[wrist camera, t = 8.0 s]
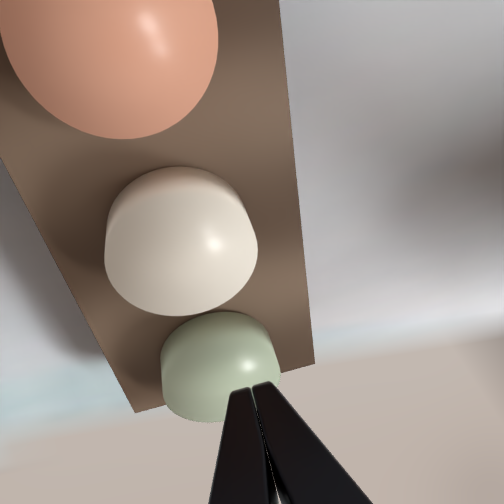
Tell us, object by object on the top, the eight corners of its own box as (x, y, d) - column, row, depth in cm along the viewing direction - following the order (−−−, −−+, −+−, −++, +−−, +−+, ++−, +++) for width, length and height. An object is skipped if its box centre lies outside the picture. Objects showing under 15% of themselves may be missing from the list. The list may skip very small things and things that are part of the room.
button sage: (146, 329, 17) (147, 363, 16) (263, 299, 17) (273, 329, 16) (176, 400, 19) (179, 434, 18) (276, 372, 20) (286, 404, 19)
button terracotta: (-25, -69, 9) (-48, -66, 8) (184, -107, 10) (193, -112, 9) (60, 132, 12) (52, 157, 11) (223, 96, 12) (233, 116, 11)
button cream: (84, 186, 13) (79, 214, 12) (234, 151, 13) (245, 175, 12) (131, 297, 16) (131, 330, 14) (255, 265, 16) (266, 295, 15)
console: (-68, -72, 12) (-119, -69, 9) (238, -127, 12) (265, -138, 10) (134, 359, 22) (135, 413, 20) (295, 316, 23) (315, 363, 20)
